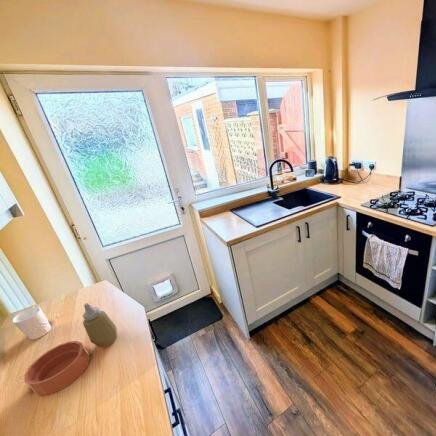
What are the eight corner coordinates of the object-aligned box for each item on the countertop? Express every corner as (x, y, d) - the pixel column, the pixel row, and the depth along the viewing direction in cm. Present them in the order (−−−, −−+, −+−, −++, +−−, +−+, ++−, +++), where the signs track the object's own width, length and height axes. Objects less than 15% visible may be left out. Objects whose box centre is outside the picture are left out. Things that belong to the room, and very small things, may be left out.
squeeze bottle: (89, 349, 89) (65, 312, 81) (109, 330, 96) (88, 294, 88) (106, 352, 87) (83, 314, 79) (125, 333, 94) (105, 296, 86)
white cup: (34, 343, 94) (19, 324, 90) (22, 338, 96) (7, 320, 92) (57, 326, 100) (44, 308, 96) (45, 322, 103) (33, 305, 99)
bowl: (34, 375, 81) (24, 363, 79) (86, 345, 90) (79, 333, 88) (35, 407, 72) (24, 394, 69) (94, 370, 81) (86, 358, 78)
